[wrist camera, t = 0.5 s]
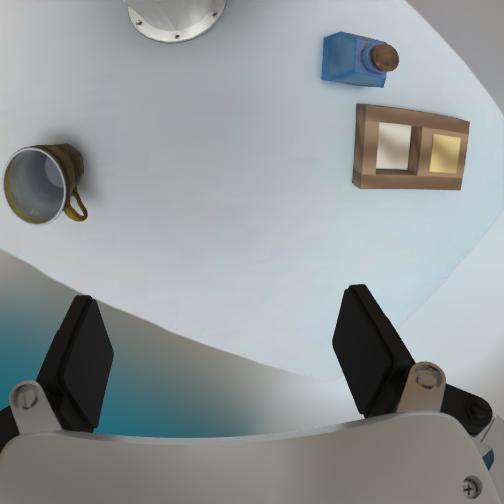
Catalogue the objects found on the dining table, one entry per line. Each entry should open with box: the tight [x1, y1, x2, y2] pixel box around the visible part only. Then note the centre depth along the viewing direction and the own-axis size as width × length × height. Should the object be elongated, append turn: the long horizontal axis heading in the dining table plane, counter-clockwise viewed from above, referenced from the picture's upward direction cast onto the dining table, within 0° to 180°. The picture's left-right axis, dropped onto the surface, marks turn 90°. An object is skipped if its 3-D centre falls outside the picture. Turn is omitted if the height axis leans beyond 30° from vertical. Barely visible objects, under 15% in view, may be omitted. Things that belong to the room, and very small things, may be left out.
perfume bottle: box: [321, 32, 399, 88], centre depth 31 cm, size 6×6×12 cm
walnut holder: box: [352, 104, 470, 190], centre depth 42 cm, size 12×20×3 cm, turn 91°
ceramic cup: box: [2, 144, 88, 226], centre depth 35 cm, size 13×10×10 cm
